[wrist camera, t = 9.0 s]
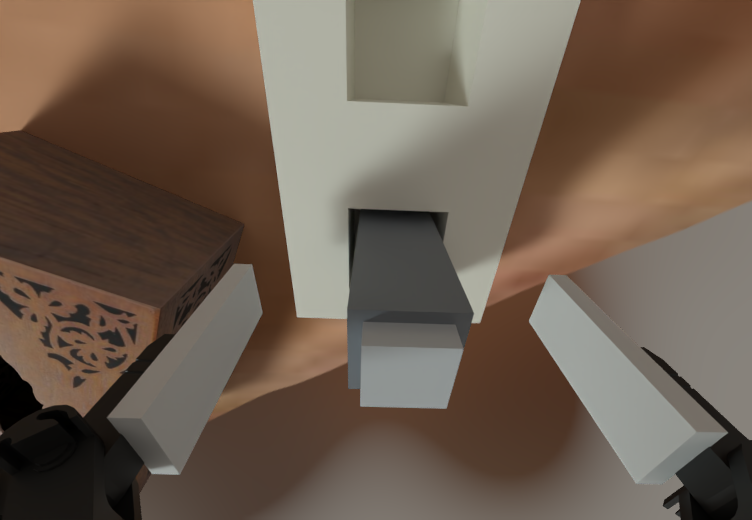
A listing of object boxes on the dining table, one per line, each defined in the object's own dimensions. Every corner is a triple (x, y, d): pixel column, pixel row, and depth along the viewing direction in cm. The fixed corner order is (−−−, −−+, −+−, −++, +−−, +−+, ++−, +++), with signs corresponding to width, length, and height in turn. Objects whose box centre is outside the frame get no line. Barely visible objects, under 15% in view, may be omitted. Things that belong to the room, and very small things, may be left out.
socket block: (314, 267, 23) (297, 317, 18) (283, -94, 13) (223, -213, 8) (461, 272, 24) (484, 323, 18) (543, -78, 13) (648, -184, 8)
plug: (363, 191, 19) (343, 332, 8) (421, 193, 19) (484, 337, 8) (362, 243, 21) (345, 414, 10) (415, 245, 21) (457, 417, 10)
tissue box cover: (24, 129, 18) (-285, 164, 10) (245, 222, 22) (160, 308, 13) (54, 364, 30) (-74, 472, 22) (194, 400, 34) (131, 506, 25)
